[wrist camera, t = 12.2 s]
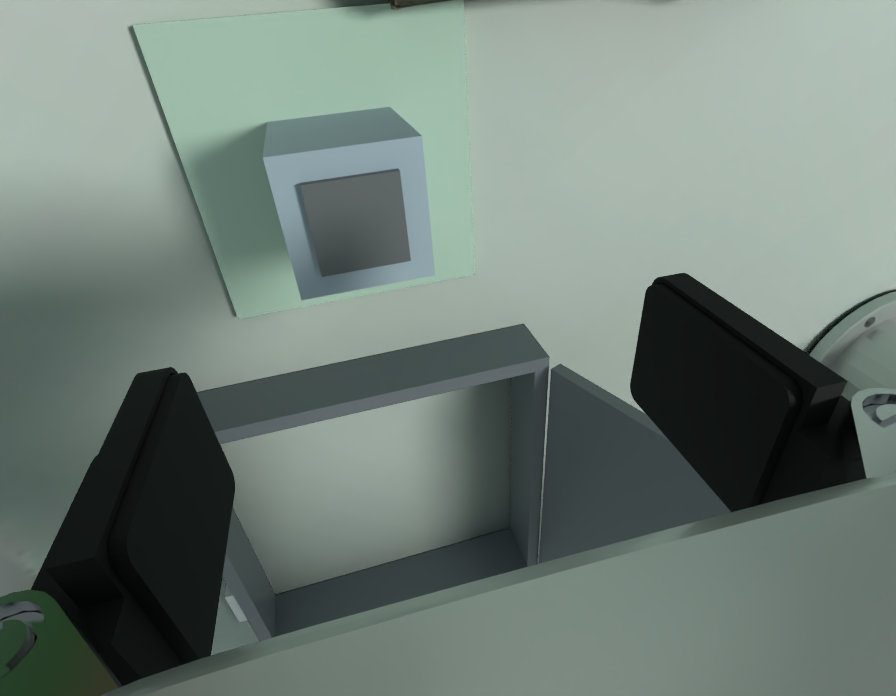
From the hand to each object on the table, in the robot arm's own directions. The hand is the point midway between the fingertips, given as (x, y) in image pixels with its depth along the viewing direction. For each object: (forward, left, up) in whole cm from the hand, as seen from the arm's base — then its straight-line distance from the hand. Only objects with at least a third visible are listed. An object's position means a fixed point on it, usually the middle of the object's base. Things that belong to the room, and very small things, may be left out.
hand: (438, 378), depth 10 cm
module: (+1, 0, -15) cm, 15 cm away
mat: (+1, 0, -15) cm, 15 cm away
